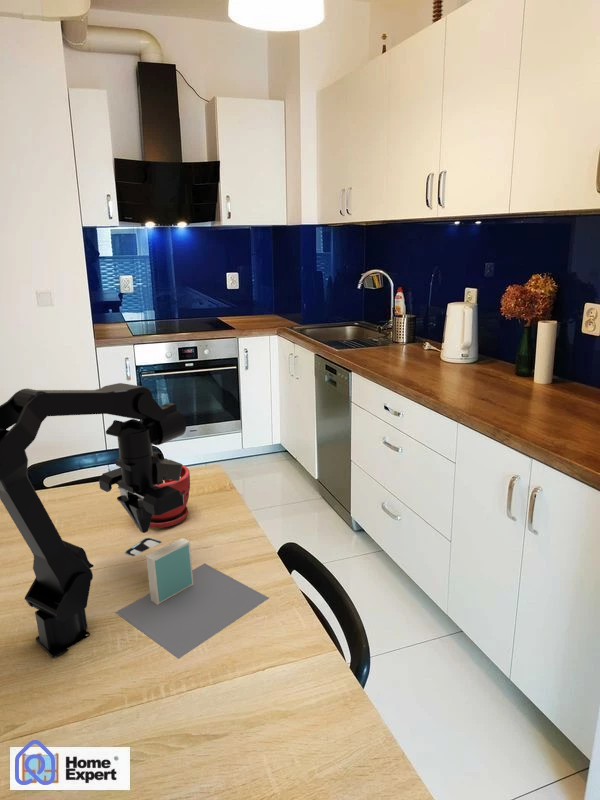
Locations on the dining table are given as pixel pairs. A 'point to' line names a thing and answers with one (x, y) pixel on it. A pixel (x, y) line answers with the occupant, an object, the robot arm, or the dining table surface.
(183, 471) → the plant pot
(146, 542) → the smartphone
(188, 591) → the mat
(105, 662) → the dining table surface
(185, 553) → the tile
